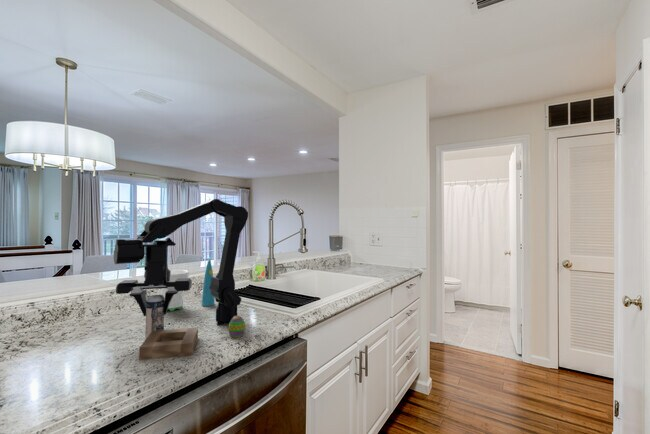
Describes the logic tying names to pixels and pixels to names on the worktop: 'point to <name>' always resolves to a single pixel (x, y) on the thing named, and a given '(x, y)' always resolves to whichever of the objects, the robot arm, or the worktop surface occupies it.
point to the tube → (207, 286)
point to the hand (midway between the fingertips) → (155, 315)
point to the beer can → (154, 314)
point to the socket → (169, 343)
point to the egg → (236, 327)
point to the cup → (178, 298)
